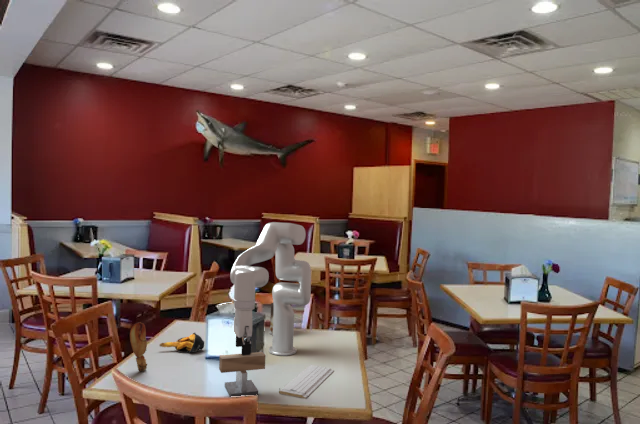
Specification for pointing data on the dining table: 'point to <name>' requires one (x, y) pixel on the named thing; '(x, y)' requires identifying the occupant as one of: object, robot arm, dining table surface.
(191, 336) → the fried shrimp in bowl
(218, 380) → the dining table surface
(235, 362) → the tan long block
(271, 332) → the coffee box
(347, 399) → the dining table surface
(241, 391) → the ridge stand
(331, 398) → the dining table surface
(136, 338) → the crab claw
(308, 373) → the baseboard molding
